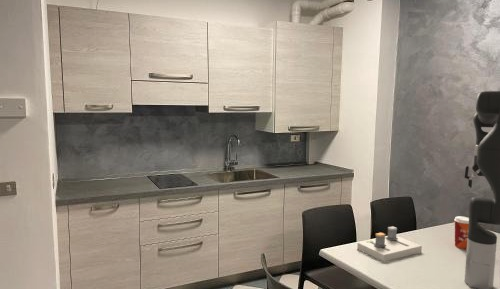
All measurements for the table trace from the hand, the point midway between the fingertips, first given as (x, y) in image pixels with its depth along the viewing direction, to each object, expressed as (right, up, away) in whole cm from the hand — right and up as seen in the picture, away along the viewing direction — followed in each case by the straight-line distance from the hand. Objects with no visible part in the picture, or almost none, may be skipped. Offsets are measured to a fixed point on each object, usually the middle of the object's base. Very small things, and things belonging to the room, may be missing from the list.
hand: (481, 188), depth 173 cm
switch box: (-44, -29, -2) cm, 53 cm away
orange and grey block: (-50, -26, -5) cm, 56 cm away
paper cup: (-7, -29, +3) cm, 30 cm away
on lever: (-41, -25, +4) cm, 48 cm away
